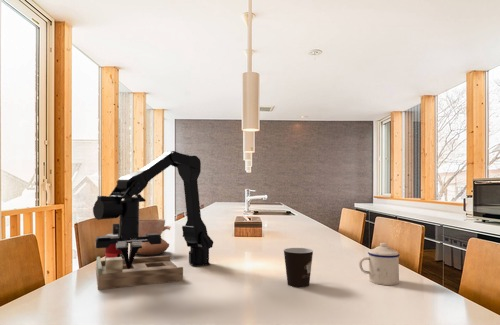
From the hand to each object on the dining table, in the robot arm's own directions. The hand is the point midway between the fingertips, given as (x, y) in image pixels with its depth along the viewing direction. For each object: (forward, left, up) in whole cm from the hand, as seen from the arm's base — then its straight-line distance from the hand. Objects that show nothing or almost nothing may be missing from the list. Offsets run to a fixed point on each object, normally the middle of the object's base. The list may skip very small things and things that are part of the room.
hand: (128, 268), depth 112 cm
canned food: (+2, -24, -4) cm, 24 cm away
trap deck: (-3, -4, -4) cm, 6 cm away
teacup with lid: (-70, +30, -4) cm, 77 cm away
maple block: (+4, 0, -1) cm, 4 cm away
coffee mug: (-47, +23, -4) cm, 53 cm away
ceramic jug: (-12, -41, -4) cm, 43 cm away
